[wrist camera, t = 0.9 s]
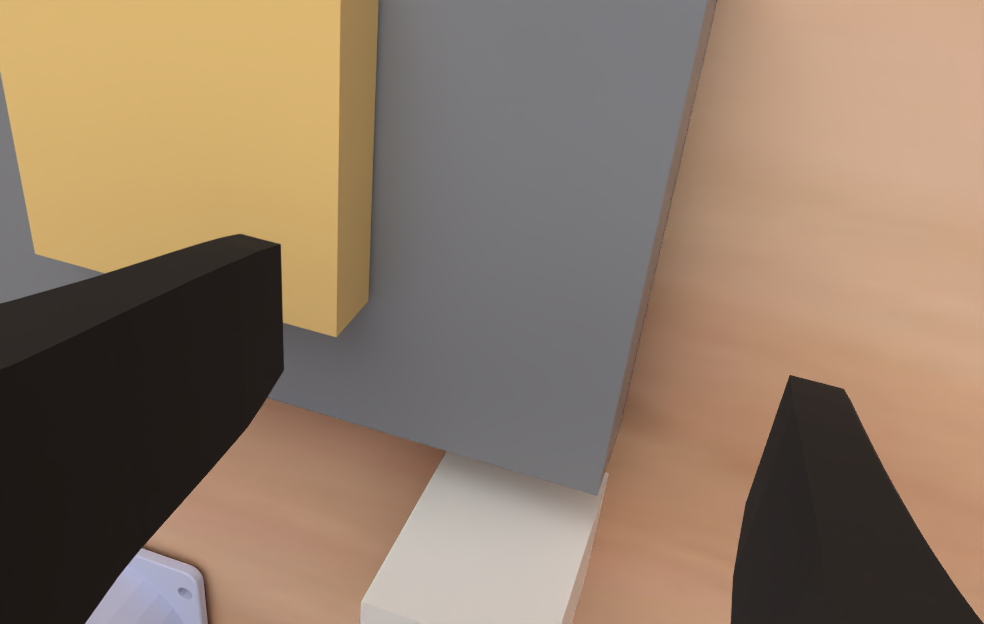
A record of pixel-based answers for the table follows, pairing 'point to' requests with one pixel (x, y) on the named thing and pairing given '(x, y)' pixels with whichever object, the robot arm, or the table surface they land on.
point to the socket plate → (490, 227)
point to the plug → (487, 550)
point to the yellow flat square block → (199, 134)
